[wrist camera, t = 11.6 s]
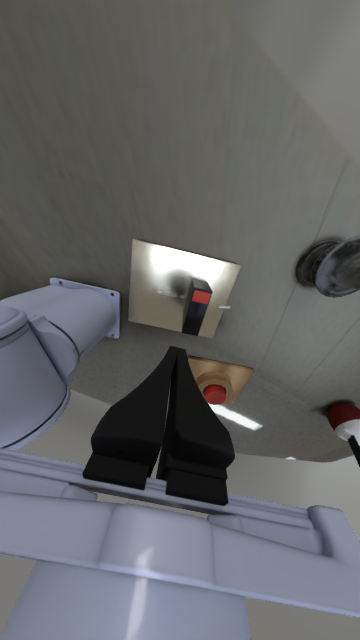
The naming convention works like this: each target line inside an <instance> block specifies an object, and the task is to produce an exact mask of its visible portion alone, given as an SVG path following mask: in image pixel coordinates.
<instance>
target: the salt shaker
mask: <svg viewBox="0 0 360 640" xmlns="http://www.w3.org/2000/svg"><path fill="white" fill-rule="evenodd" d="M296 276H297V279H298V281H299V282H300V283H301V284H303V285H305V286H310V287H312V286H315V287H316V288H317V289H318V291H319V292H320V293H321V294H323V295H325V296H328V297H342V296H346V295H349V294H352V293H354V292H356V291H358V290H360V236H356V237H353V238H350V239H348V240H346V241H343V242H339V241H336V240H326V241H322V242H319V243H317V244H315V245H314V246H312V247H311V248H310V249H308V250H307V251H306V252H305V253H304V255H303V256H302V257H301V258H300V260H299V262H298V264H297V268H296Z"/></svg>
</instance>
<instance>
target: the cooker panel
mask: <svg viewBox="0 0 360 640" xmlns="http://www.w3.org/2000/svg"><path fill="white" fill-rule="evenodd" d="M240 268H241V265H239V264H237V263H233V262H229V261H225V260H221V259H217V258H213V257H209V256H205V255H201V254H197V253H193V252H188V251H184V250H180V249H176V248H172V247H168V246H164V245H160V244H156V243H152V242H147V241H143V240H139V239H132V254H131V274H130V294H129V315H128V321H131V322H136V323H141V324H145V325H150V326H155V327H160V328H165V329H169V330H174V331H179V332H182V319H183V313H184V309H185V305H186V301H187V297H188V293H189V290H190V286H191V282H192V278H193V279H198V280H202V281H206V282H208V284H209V286H210V288H211V290H212V291H213V293H212V296H211V299H210V302H209V305H208V308H207V311H206V313H205V316H204V319H203V322H202V325H201V328H200V331H199V334H198V336H203V337H207V338H213V336H214V333H215V331H216V328H217V326H218V323H219V321H220V318H221V316H222V313H223V311H224V308H225V309H229V310H230V308H231V307H230V306H226V303H227V301H228V298H229V296H230V293H231V291H232V288H233V286H234V283H235V281H236V278H237V276H238V273H239V271H240Z"/></svg>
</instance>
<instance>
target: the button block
mask: <svg viewBox="0 0 360 640" xmlns="http://www.w3.org/2000/svg"><path fill="white" fill-rule="evenodd" d="M188 362H189V365H190V368H191V371H192V373H193V376H194V378H195V381H196V383H197V385H198V387H199V389H200V391H201V393H202V394H203V396H204V398H205V394H204V389H205V387H207V386H208V385H213V384H217V385H221V386H223V388H224V390H225V394H226V400H225V401H224V402H223V403H229V404H233V403H234V402H235V400H236V399H237V397H238V396H239V394H240V393H241V391H242V389H243V388H244V386H245V385H246V383H247V382H248V380H249V379H250V377H251V376H252V374H253V373H254V370H253V368H248V367H243V366H238V365H233V364H228V363H223V362H218V361H213V360H208V359H203V358H198V357H193V356H188Z"/></svg>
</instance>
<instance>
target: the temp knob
mask: <svg viewBox="0 0 360 640" xmlns="http://www.w3.org/2000/svg"><path fill="white" fill-rule="evenodd" d="M212 293H213V291H212V290H211V288H210V286H209V284H208V282H206V281H202V280H198V279H193V278H192V282H191V286H190V290H189V293H188V297H187V301H186V305H185V309H184V313H183V319H182V333H186V334H190V335H195V336H198V334H199V331H200V328H201V325H202V322H203V319H204V316H205V313H206V311H207V308H208V305H209V302H210V299H211V296H212Z"/></svg>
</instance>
